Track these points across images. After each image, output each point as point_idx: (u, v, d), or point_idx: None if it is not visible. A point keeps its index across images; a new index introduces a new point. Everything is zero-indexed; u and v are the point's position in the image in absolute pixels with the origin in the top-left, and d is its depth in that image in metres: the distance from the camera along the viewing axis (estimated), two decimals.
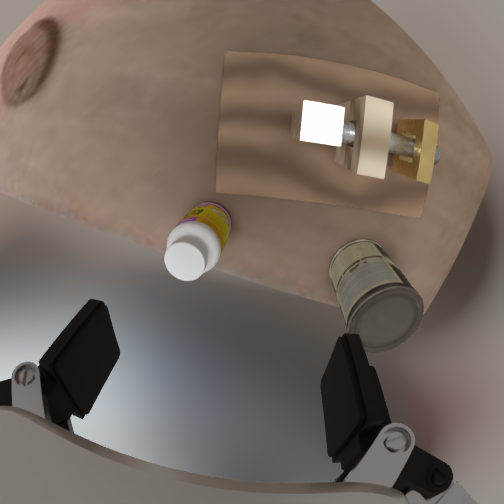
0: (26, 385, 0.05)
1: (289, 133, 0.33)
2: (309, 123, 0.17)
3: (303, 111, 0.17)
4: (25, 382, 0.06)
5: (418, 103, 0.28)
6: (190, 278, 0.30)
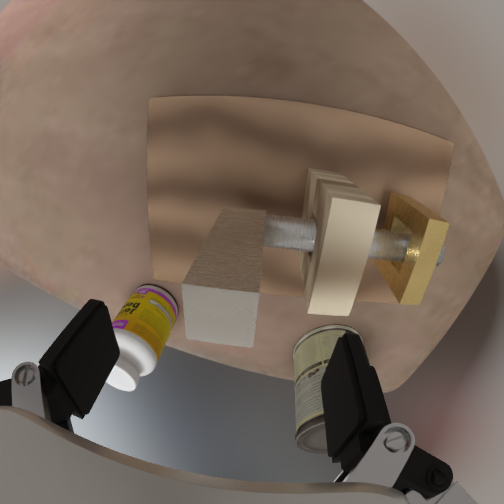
0: (26, 385, 0.05)
1: None
2: (196, 318, 0.11)
3: (184, 300, 0.11)
4: (25, 382, 0.06)
5: (423, 159, 0.22)
6: (125, 389, 0.23)
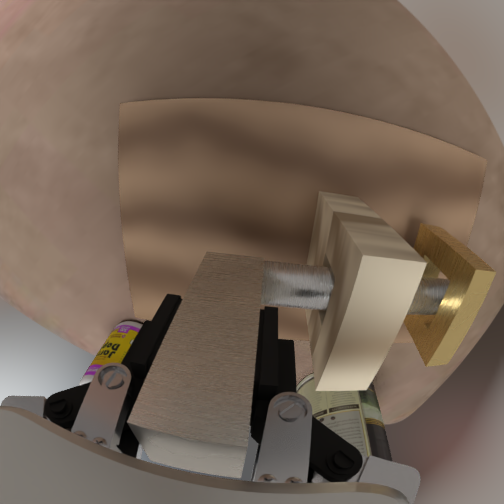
0: (109, 386, 0.07)
1: (227, 246, 0.21)
2: (159, 451, 0.06)
3: (137, 434, 0.06)
4: (109, 383, 0.07)
5: (455, 179, 0.17)
6: None
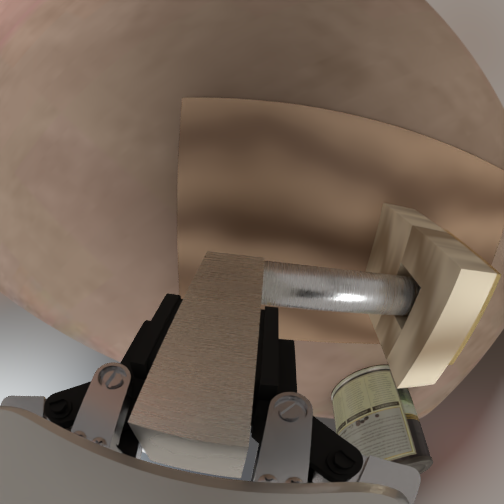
0: (109, 386, 0.07)
1: (293, 253, 0.21)
2: (159, 451, 0.06)
3: (137, 434, 0.06)
4: (109, 383, 0.07)
5: (490, 194, 0.17)
6: None
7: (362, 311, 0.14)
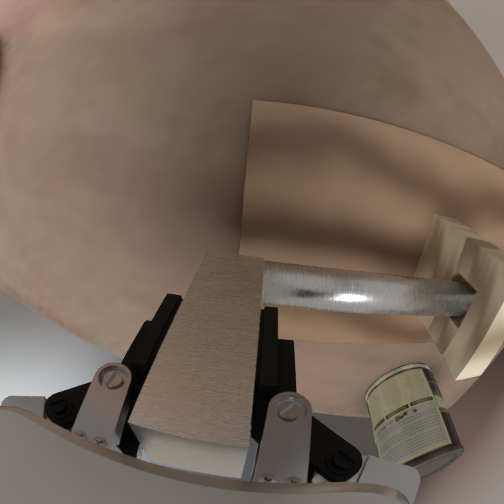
0: (110, 386, 0.07)
1: (353, 260, 0.21)
2: (159, 451, 0.06)
3: (137, 434, 0.06)
4: (109, 383, 0.07)
5: None
6: None
7: (362, 311, 0.14)
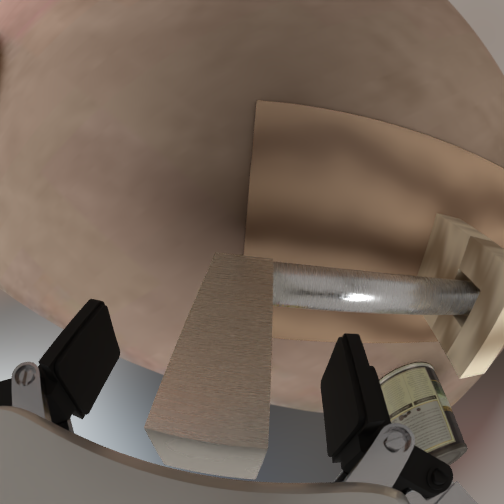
0: (26, 385, 0.05)
1: (358, 260, 0.21)
2: (174, 455, 0.06)
3: (153, 439, 0.06)
4: (25, 382, 0.06)
5: None
6: None
7: (370, 311, 0.14)
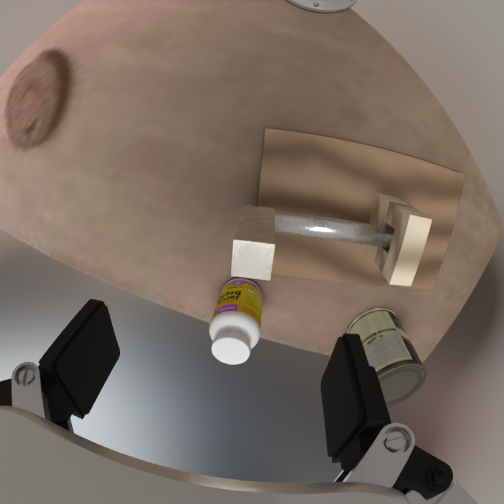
0: (26, 385, 0.05)
1: None
2: (239, 261, 0.20)
3: (233, 249, 0.20)
4: (25, 383, 0.06)
5: (445, 187, 0.32)
6: (235, 363, 0.32)
7: (325, 236, 0.28)
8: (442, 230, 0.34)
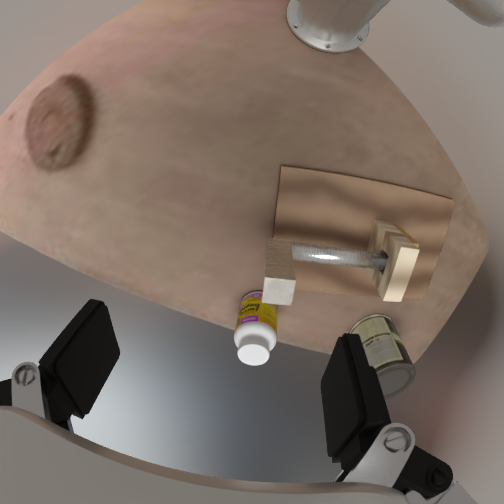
0: (26, 385, 0.05)
1: (331, 244, 0.42)
2: (268, 292, 0.27)
3: (264, 284, 0.27)
4: (24, 383, 0.06)
5: (436, 212, 0.38)
6: (256, 364, 0.39)
7: (331, 262, 0.35)
8: (433, 249, 0.41)
